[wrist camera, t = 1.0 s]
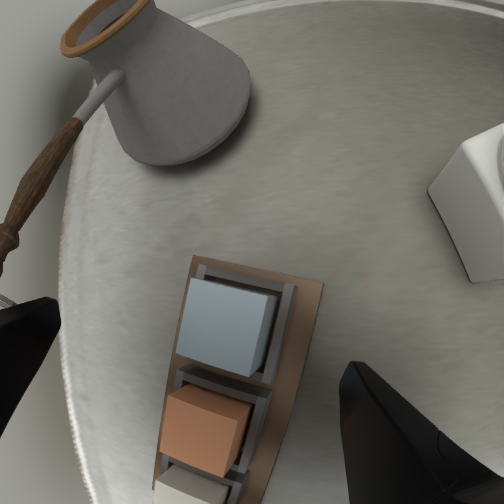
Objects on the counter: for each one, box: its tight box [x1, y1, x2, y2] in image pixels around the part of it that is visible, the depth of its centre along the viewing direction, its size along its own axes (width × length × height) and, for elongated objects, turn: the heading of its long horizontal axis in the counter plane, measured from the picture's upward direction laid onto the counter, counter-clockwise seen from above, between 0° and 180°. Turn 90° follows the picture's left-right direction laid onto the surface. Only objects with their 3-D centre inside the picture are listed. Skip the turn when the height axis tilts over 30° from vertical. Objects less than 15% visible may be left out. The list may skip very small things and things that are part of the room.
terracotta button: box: [159, 383, 253, 478], centre depth 15 cm, size 4×4×3 cm
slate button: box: [176, 278, 279, 377], centre depth 16 cm, size 4×4×3 cm
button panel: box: [152, 255, 324, 504], centre depth 18 cm, size 20×8×3 cm, turn 167°
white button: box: [153, 464, 230, 504], centre depth 15 cm, size 4×4×3 cm
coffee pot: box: [0, 0, 251, 308], centre depth 16 cm, size 21×12×15 cm, turn 178°
